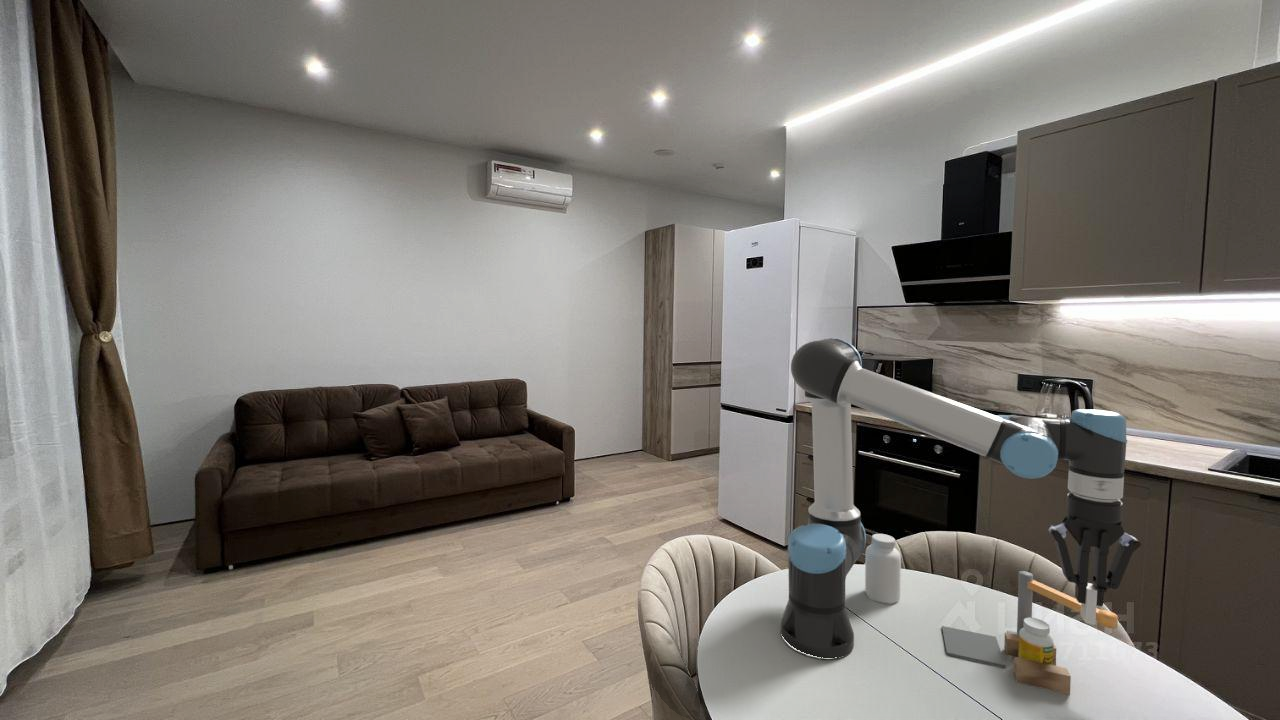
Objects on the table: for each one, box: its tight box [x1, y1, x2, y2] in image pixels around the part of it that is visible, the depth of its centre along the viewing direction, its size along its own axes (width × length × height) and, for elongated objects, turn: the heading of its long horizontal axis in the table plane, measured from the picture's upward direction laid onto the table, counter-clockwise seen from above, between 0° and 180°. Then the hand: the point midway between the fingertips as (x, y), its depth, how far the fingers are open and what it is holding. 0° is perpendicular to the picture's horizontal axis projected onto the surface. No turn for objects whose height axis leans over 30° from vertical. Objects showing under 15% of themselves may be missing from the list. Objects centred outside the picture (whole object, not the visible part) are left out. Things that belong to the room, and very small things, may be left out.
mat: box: [941, 625, 1007, 669], centre depth 107 cm, size 10×10×1 cm
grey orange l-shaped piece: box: [1016, 570, 1119, 635], centre depth 101 cm, size 3×17×14 cm, turn 19°
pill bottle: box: [864, 533, 902, 604], centre depth 127 cm, size 8×8×15 cm
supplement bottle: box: [1017, 617, 1055, 665], centre depth 100 cm, size 5×5×10 cm
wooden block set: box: [1003, 629, 1072, 695], centre depth 103 cm, size 8×17×4 cm, turn 155°
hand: (1087, 620), depth 95 cm, fingers closed
